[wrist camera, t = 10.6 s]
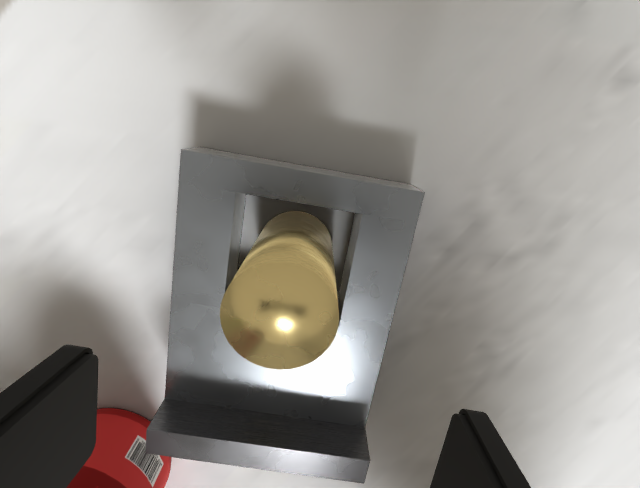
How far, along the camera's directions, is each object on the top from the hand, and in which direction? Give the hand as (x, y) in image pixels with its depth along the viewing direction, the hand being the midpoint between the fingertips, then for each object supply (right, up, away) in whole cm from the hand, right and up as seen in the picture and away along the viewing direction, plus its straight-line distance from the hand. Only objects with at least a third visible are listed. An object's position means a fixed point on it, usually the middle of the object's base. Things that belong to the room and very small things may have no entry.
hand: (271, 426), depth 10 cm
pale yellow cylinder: (0, +5, +13) cm, 13 cm away
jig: (-1, +2, +14) cm, 14 cm away
